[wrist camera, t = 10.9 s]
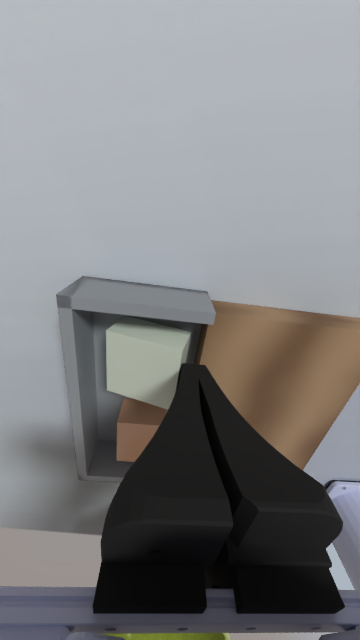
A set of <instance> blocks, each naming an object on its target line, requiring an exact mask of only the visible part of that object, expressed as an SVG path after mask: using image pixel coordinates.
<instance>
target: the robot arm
mask: <svg viewBox="0 0 360 640" xmlns="http://www.w3.org/2000/svg"><path fill="white" fill-rule="evenodd" d="M331 543H333V545H334V547H335V549H336V551H337V553H338V556H339V558H340V560H341V562H342V564H343V566H344V568H345V570H346V572H347V574H348V576H349V578H350V581H351V583H352V585H353V587H354V589H355V590H338V589H337V587H336V584H335V582H334V580H333V577H332V575H331V573H330V570H329V568H330V567H332V562H331V560H330V558H329V556H328V553H327V551H326V548H327V547H328V546H329V545H330V544H331ZM101 556H102V563H101V567H100V572H99V577H98V582H97V587H11V586H9V587H8V586H0V640H125V639H124V638H121V637H115V636H109V635H103V634H129V633H276V632H277V633H278V632H279V633H280V632H281V633H282V632H285V633H288V632H338V633H332V634H326V635H321V637H320V638H319V640H360V482H342V481H335V482H333V483H331V485H330V486H329V487H328V489H327V490H325V488H324V487H323V485H322V484H320V483H319V482H318V481H316V480H315V479H313V478H312V477H311V476H309V475H308V474H307V473H305V472H304V471H303V470H301V469H300V468H298V467H297V466H296V465H294V464H293V463H292V462H291V461H289V460H288V459H287V458H286V457H285V456H283V455H282V454H281V453H280V452H279V451H277V450H276V449H275V448H274V447H273V446H272V445H270V444H269V443H268V442H267V441H266V440H265V439H264V438H263V437H262V436H261V435H260V434H259V433H258V432H257V431H256V430H255V429H254V428H253V427H252V426H251V425H250V424H249V423H248V422H247V421H246V420H245V419H244V418H243V417H242V416H241V414H240V413H239V412H238V411H237V410H236V408H235V407H234V406H233V405H232V403H231V402H230V401H229V400H228V398H227V397H226V395H225V394H224V393H223V391H222V390H221V388H220V387H219V385H218V384H217V382H216V381H215V379H214V378H213V376H212V375H211V373H210V371H209V370H208V368H207V367H206V365H200V364H189V363H183V364H182V365H181V371H180V376H179V382H178V387H177V390H176V393H175V395H174V398H173V400H172V403H171V405H170V407H169V409H168V411H167V413H166V415H165V417H164V419H163V420H162V422H161V424H160V426H159V427H158V429H157V431H156V432H155V434H154V436H153V437H152V439H151V440H150V442H149V443H148V444H147V446H146V447H145V449H144V450H143V452H142V453H141V454H140V456H139V457H138V458H137V460H136V461H135V462H134V463H133V465H132V466H131V467H130V469H129V470H128V471H127V472H126V474H125V476H124V478H123V480H122V482H121V484H120V486H119V488H118V490H117V492H116V494H115V496H114V498H113V500H112V502H111V505H110V507H109V510H108V513H107V516H106V519H105V524H104V529H103V533H102V539H101Z"/></svg>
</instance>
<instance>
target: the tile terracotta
mask: <svg viewBox="0 0 360 640" xmlns="http://www.w3.org/2000/svg"><path fill="white" fill-rule="evenodd" d="M167 411H168V409H164V408H161V407H158V406H155V405H152V404H149V403H146V402H142V401H139V400H136V399H126V398H124V399H123V403H122V406H121V410H120V414H119V417H118V421H117V461H129V462H135V461H136V460H137V458H138V457H139V456H140V454H141V453H142V452H143V450H144V449H145V447H146V446H147V444H148V443H149V442H150V440H151V439H152V437H153V436H154V434H155V432H156V431H157V429H158V427H159V426H160V424H161V422H162V420H163V419H164V417H165V415H166V413H167Z"/></svg>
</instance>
